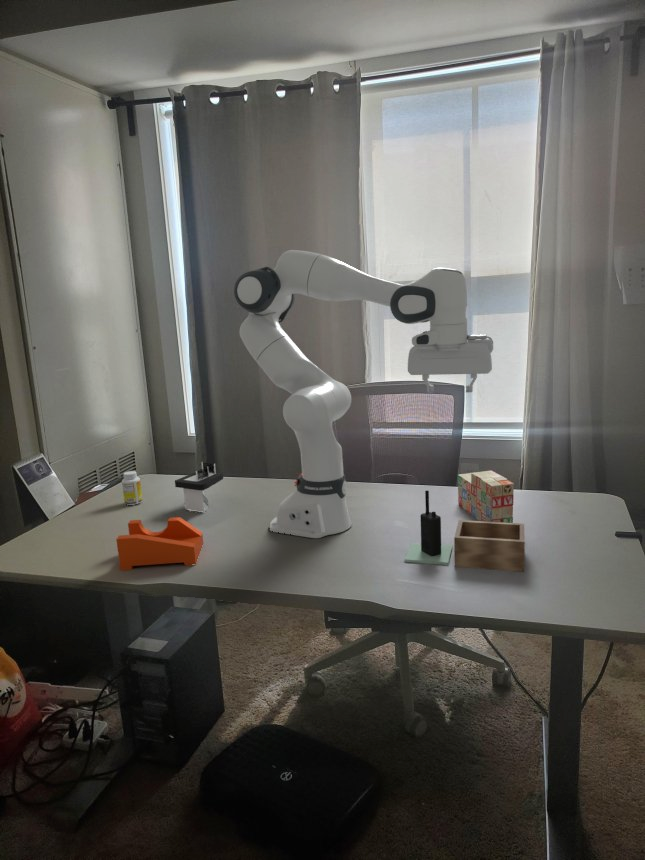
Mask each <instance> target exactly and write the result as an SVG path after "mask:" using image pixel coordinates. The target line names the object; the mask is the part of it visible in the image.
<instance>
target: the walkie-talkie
mask: <svg viewBox="0 0 645 860" xmlns="http://www.w3.org/2000/svg"><path fill="white" fill-rule="evenodd" d="M424 492H425V494H424V496H425V498H424V499H425V512H424V513H421V514H420V516H419V517H420V543H421V551H422V552H424V553H426V554H428V555H430V556H436V555H439V554H441V545H442V517H441V515H437V513H436V511H431V512H430V492H429V490H425V491H424Z"/></svg>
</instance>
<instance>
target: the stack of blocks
mask: <svg viewBox="0 0 645 860" xmlns="http://www.w3.org/2000/svg"><path fill="white" fill-rule="evenodd" d="M514 487H515V483H514V482H512V481H510V480H509V479H508V478H506V477H504V476H503V475H501V474H499V473H497V472H495V471H493V470H484V471H478V472H477V471H476V472H475V471H474V472H468V473H461V474H457V495H458V498H457V499H458V500H457V501H458V505H459V506H460V507H462V509H464V510H465V511H467V513H469V514H470V515H471V516H473V517H474V518H475V519H476V520H477V521H484V522H503V523H514V517H513V516H514V514H513V513H514V500H515V499H514V497H515V496H514V489H515V488H514Z"/></svg>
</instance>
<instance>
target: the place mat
mask: <svg viewBox="0 0 645 860" xmlns="http://www.w3.org/2000/svg"><path fill="white" fill-rule="evenodd" d="M452 551H453V545H452V544H441V554H439V555H436V556H430V555H428V554H426V553H424V552H422V551H421V542H411V543H410V546H409V548H408V550H407V552H406V555H405V557H404V562H405V563H417V564H429V565H430V564H431V565H443V566H449V563H450V559H451V554H452Z"/></svg>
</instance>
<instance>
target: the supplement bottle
mask: <svg viewBox="0 0 645 860" xmlns="http://www.w3.org/2000/svg"><path fill="white" fill-rule="evenodd" d="M121 487H122V490H123V491H122V493H123V501H124V504H125V505H126V504H127V505H126V506H128V505H133V504H138V503H140V502H142V503H143V492H142V486H141V478H140V477H139V476H138V473H137V471H135V470H130V471H125V472H123V479H122V480H121ZM140 504H141V503H140ZM138 505H139V504H138ZM133 506H134V505H133Z"/></svg>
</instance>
